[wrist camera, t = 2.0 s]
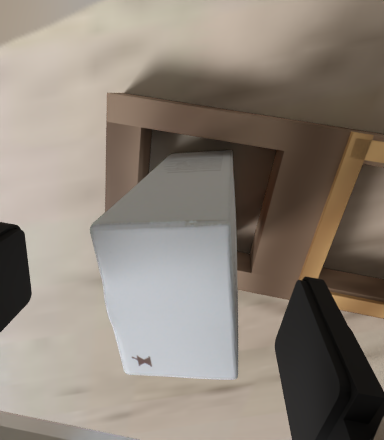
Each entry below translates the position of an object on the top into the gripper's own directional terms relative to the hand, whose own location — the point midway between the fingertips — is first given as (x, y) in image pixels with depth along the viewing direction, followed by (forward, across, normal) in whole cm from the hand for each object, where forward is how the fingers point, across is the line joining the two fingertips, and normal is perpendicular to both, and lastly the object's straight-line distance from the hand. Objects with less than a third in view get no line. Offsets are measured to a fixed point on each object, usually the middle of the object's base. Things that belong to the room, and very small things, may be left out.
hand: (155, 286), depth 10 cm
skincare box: (+11, -1, 0) cm, 11 cm away
